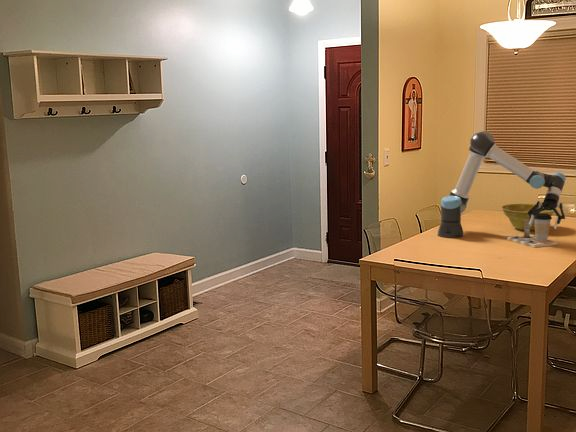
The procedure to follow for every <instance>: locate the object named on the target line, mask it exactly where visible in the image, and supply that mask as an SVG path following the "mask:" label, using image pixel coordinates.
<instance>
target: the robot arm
mask: <svg viewBox="0 0 576 432" xmlns="http://www.w3.org/2000/svg"><path fill="white" fill-rule="evenodd" d="M469 141H470V142H469V144H470V146H469V148H468V152H469V154H468V157H467V159H466V160H465V161H466V162H465V163H464V166H463V169H462V171H461V174H460V176H459V179H458V181H457V183H456V185H455V187H454V189H452V190H451V191H450V193H449V195H447V196H444V197H442V199H441V202H440V225H439V227H438V230H437V236H439V237H440V238H452V239H454V238H461V237H463V236H464V229H463V226H462V220H461V218H462V213H463V212H464V211H466V209H467V205H468V201H469V200H470V196H469V193H470V190H471V188H472V186H473V183H474V181H475V179H476V177H477V175H478V171H479V169H480V167H481V165H482V162H483V161H484V159H485V158H489V159H491V160H492V161H494V162H496V163H497V164H499V165H500V166H502V167H503V168H505V169H506V170H508V171H509V172H511V173H512V174H513V175H515V176H516V177H519V178H520V179H521V180H523V181H524V182H526V183H527V184H529V185H530V187H532V189H536V190H537V189H541V188H542V187H544V188H547V191H546V194H545V196H544V199H543V201H542V202H541V201H540V200H537V202H536V203H535V204H536V205H535V206H534V207H533V208H532V209H530V210H529V211H528V215H529V216H530V217H529V221H530V222H529V226H530V227H531V226H532V223H533V220H534V216H535V214H538V213H540V212H541V211H544V210H549V211H551V210H553V211H554V212H553V213H554V214H555V215H556V218H555V222H554V224H553V229H554V230H557V228H558V225H560V224H561V221H562V220H565V219H566V216H565V213H564V209H563V207H564V206H563V203H562V202H560V203H559V201H560V197H561V194H562V191H563V189H564V186H565V185H566V184H565V183H566V179H567V178H566V175H565V174H564V173H561V172H554V173H553V174H548V173H544V172H541V171H537V170H533V169H532V168H530V167H529V166H528V165H526V164H524V163H523V162H522V161H520V160H519V159H517V158H516V157H514V156H513V155H511V154H509V153H507V152H506V151H504V150H503V149H501V148H500V147H498V145H497V143H495V139H494V137H493V135H492V134H491V133H490V132H488V131H485V130H481V131H478V132H477V133H474V134H473V135H472V136H471V138H470V140H469ZM541 205H542V206H541ZM539 206H541V207H540V208H539ZM557 208H558V209H560V213H561V214H560V213H559V211H558V209H557Z"/></svg>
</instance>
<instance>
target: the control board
mask: <svg viewBox="0 0 576 432" xmlns="http://www.w3.org/2000/svg"><path fill="white" fill-rule="evenodd" d="M529 222H530V221H529V220H525V227H524V230H523V231H524V232H523V234H524V235H516V236H509V237H507V241H511V242H513V241H514V243H518V244H520V243H521V245H524V246H528V247H532V248H541V247H549V246H555V245H558V241H556V240H551V239H547V242H538V241H536V235H532V234H531V231H530V226H529Z"/></svg>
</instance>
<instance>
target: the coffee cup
mask: <svg viewBox="0 0 576 432" xmlns="http://www.w3.org/2000/svg"><path fill="white" fill-rule="evenodd" d="M534 219H535V230H534V233H535V235H534V236H536V241H538V242H547V239H548V237H549V233H550V227H551V220H553V218H552V216H551V215H549V214H535V216H534ZM548 240H549V239H548Z"/></svg>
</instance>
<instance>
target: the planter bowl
mask: <svg viewBox="0 0 576 432" xmlns="http://www.w3.org/2000/svg"><path fill="white" fill-rule="evenodd" d="M536 204H537V203H535V204H534V203H511V204H504V205H501V207H500V208H501V209H502V212H503V214H504V215H505V216H506V217H507V218H508V220H509V222H510V223H511V225H512V227H514V228H515V229H516V230H520V231H524V227H525V220H529V217H530V216H529V215H528V211H529V210H530V209H532V208H533V207H534V206H535V205H536ZM541 206H542V205H541ZM541 206H539V208H540V207H541ZM554 213H555V212H554V211H553V210H551V211H549V210H544V211H541V212H540V213H538V214H549V215H551V217H552V216H553V215H554ZM531 231H535V219H534V220H533V223H532V226H531V227H530V232H531Z"/></svg>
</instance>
